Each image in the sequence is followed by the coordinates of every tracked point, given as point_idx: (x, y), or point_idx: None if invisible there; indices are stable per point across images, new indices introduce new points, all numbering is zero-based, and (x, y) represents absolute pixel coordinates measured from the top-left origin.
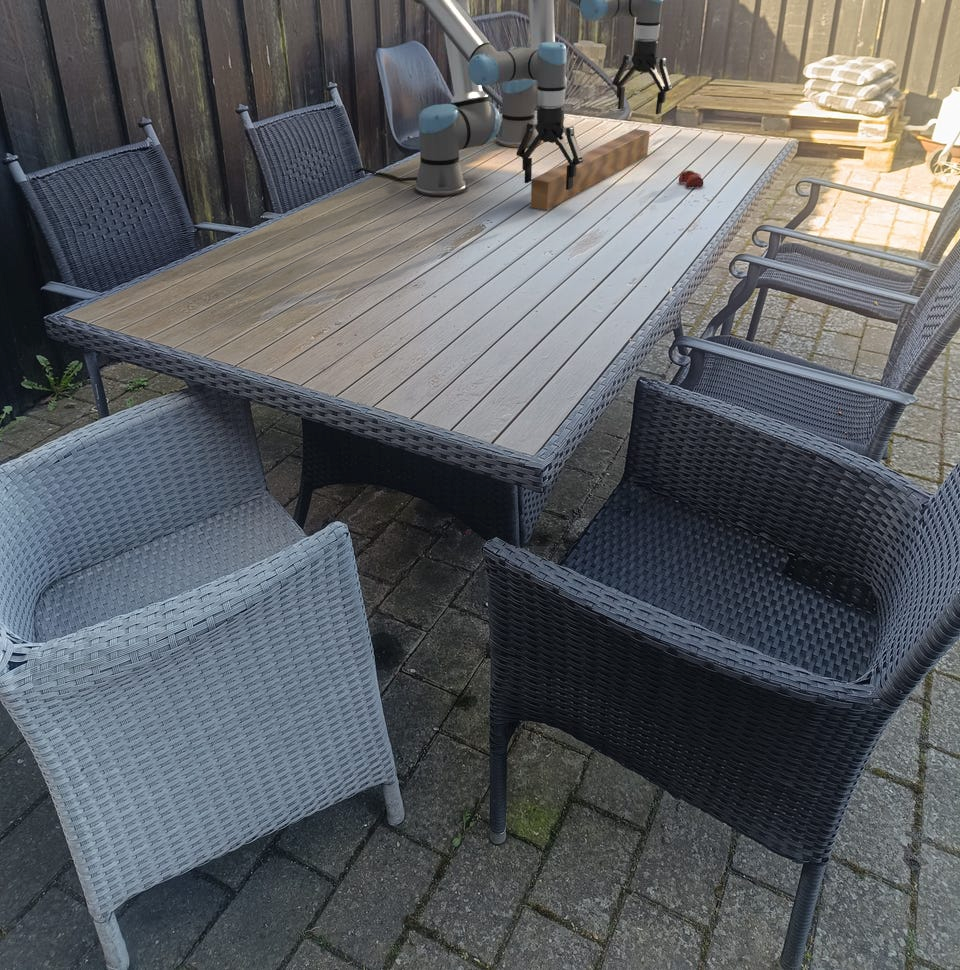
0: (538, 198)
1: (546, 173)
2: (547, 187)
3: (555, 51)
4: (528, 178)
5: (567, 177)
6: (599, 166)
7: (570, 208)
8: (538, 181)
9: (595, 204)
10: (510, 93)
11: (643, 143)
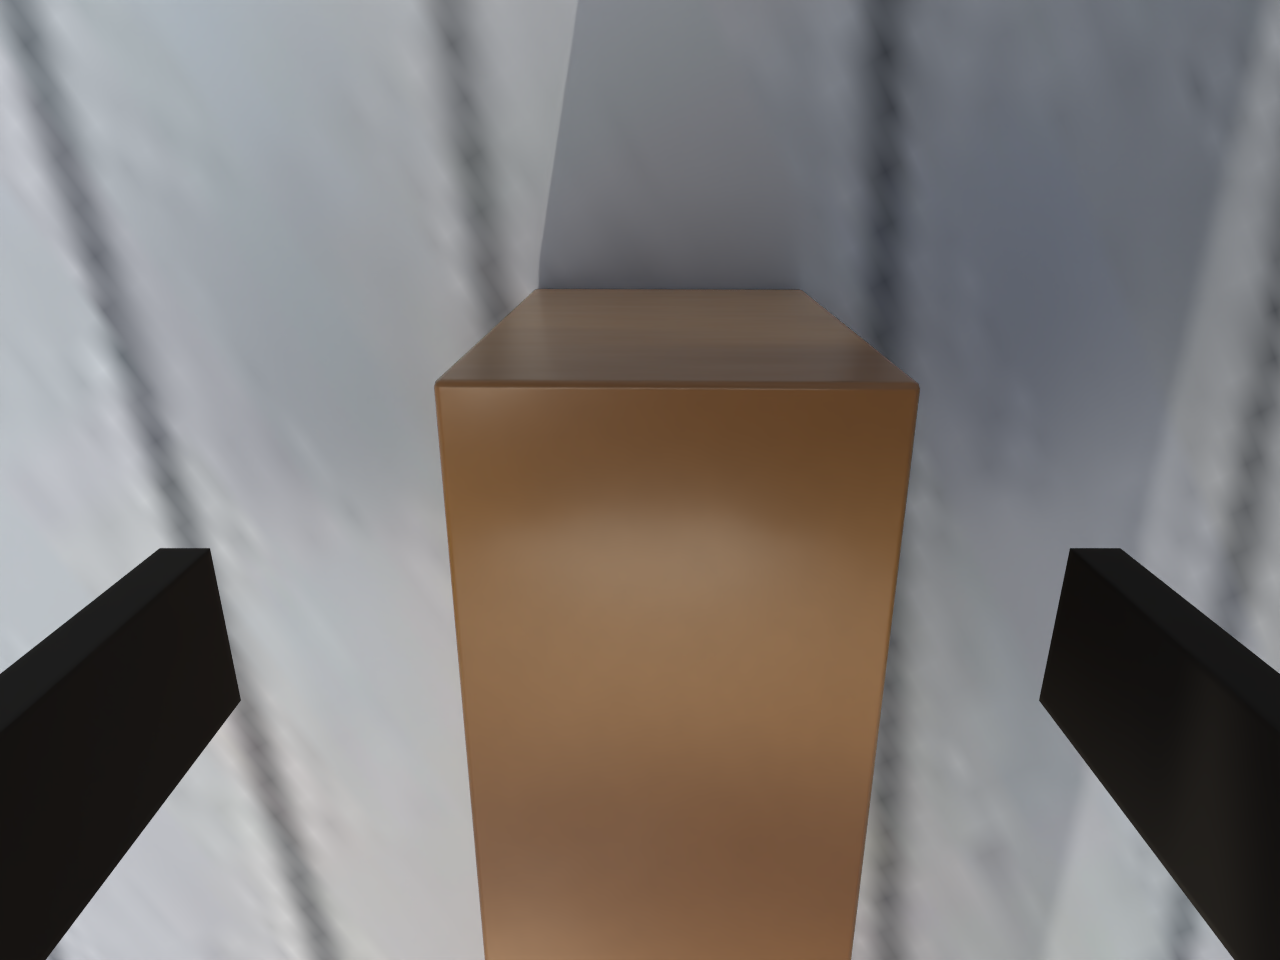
0: (681, 310)
1: (805, 894)
2: (471, 350)
3: None
4: (1098, 643)
5: (35, 679)
6: None
7: (337, 535)
8: (714, 379)
9: (203, 790)
10: None
11: None
